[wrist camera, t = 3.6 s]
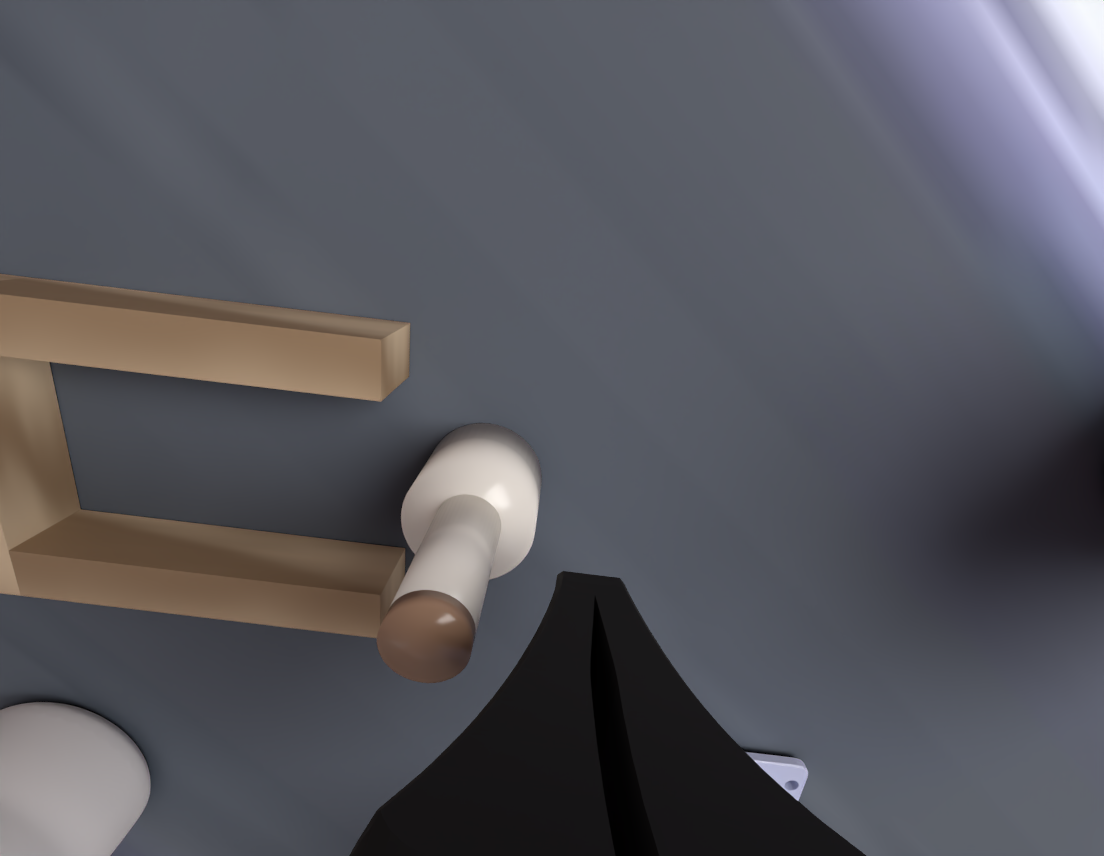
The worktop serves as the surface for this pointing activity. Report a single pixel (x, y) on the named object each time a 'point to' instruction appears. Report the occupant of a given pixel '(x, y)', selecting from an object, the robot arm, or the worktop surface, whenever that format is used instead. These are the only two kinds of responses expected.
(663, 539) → the worktop surface
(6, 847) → the water bottle
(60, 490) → the cradle
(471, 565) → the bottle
